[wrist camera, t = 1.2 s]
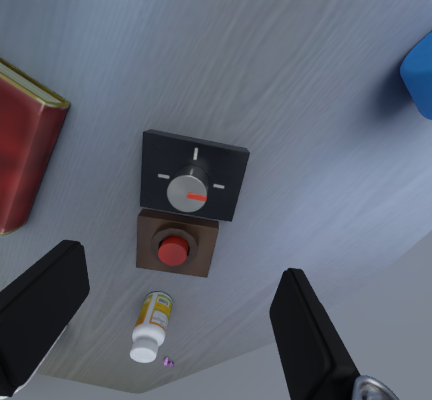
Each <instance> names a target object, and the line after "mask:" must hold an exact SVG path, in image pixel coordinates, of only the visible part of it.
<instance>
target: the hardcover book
mask: <svg viewBox="0 0 432 400" xmlns="http://www.w3.org/2000/svg"><path fill="white" fill-rule="evenodd" d="M69 105H70V103H69V102H68V101H66V100H65V99H63V98H62V97H60V96H58V95H57V94H55V93H54V92H52V91H51V90H49V89H48V88H46V87H45V86H43V85H42V84H40V83H39V82H37V81H36V80H34V79H33V78H31V77H29V76H28V75H26V74H25V73H23V72H22V71H20V70H19V69H17V68H16V67H14V66H13V65H11V64H10V63H8V62H7V61H5V60H4V59H2V58H0V235H7V234H9V233H12V232H14V231H16V230H17V229H19V228H20V227H22V226H23V225H24V224H25V223H26V220H27V218H28V215H29V212H30V210H31V207H32V204H33V202H34V199H35V196H36V193H37V191H38V188H39V185H40V183H41V180H42V177H43V175H44V172H45V169H46V167H47V164H48V161H49V159H50V156H51V153H52V150H53V148H54V145H55V142H56V140H57V137H58V134H59V132H60V129H61V126H62V124H63V121H64V118H65V116H66V113H67V110H68V107H69Z"/></svg>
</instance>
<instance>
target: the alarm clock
mask: <svg viewBox="0 0 432 400" xmlns="http://www.w3.org/2000/svg"><path fill="white" fill-rule="evenodd" d="M400 75H401V77H402V79H403V81H404V83H405V85H406V87H407V89H408V91H409V93H410V95H411V97H412V98H413V100H414V102H415V104H416V106H417V108H418V110H419V112H420V113H421V114H422V115H423V116H424V117H425V118H427V119H430V120H432V31H431V32H430V33H429V34H428V35H427V36H426V37H424V38H423V39H422V40H421V41H420V42H419V43H418V44H417V45H416V46H415V47H414V48H413V49H412V50H411V51H410V52H409V54H408V55H407V56H406V58H405V59H404V61H403V62H402V64H401V67H400Z"/></svg>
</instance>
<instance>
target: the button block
mask: <svg viewBox="0 0 432 400" xmlns="http://www.w3.org/2000/svg"><path fill="white" fill-rule="evenodd" d="M218 230H219V222H218V221H212V220H206V219H200V218H194V217H188V216H182V215H176V214H171V213H165V212H159V211H153V210H147V209H143V210H142V211H141V212H140V214H139V215H138V231H137V259H136V267H137V268H144V269H151V270H158V271H165V272H172V273H179V274H185V275H192V276H199V277H206V278H207V277H208V273H209V268H210V264H211V260H212V255H213V251H214V247H215V243H216V238H217V234H218ZM170 236H177V237H180V238H182V239H183V240H185V242H186V243H187V245H188V252H187V257H186V260H185V261H184V262H183V263H182V264H180V265H177V266H170V265H167V264H165V263H163V262H162V261H161V260H160V258H159V256H158V251H159V248H160V246H161V243H162V241H163V240H164V239H165V238H167V237H170Z"/></svg>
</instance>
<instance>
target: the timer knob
mask: <svg viewBox="0 0 432 400" xmlns="http://www.w3.org/2000/svg"><path fill="white" fill-rule="evenodd" d="M208 183H209V182H208V176H207V174H206V172H205V171H204V170H203V169H202V168H200V167H198V166H195V165H186V166H183V167H182V168H180V169H179V170H178V171H177V173H176V174H175V176H174V177H173V179H172V181H171V182H170V184H169V186H168V189H167V197H168V200H169V202H170V203H171V205H172V206H173V207H175V208H176V209H178V210H180V211H183V212H194V211H197V210H198V209H200V208H201V207H202V206H203V205H204V204H205V202H206V199H207V192H208Z"/></svg>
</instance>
